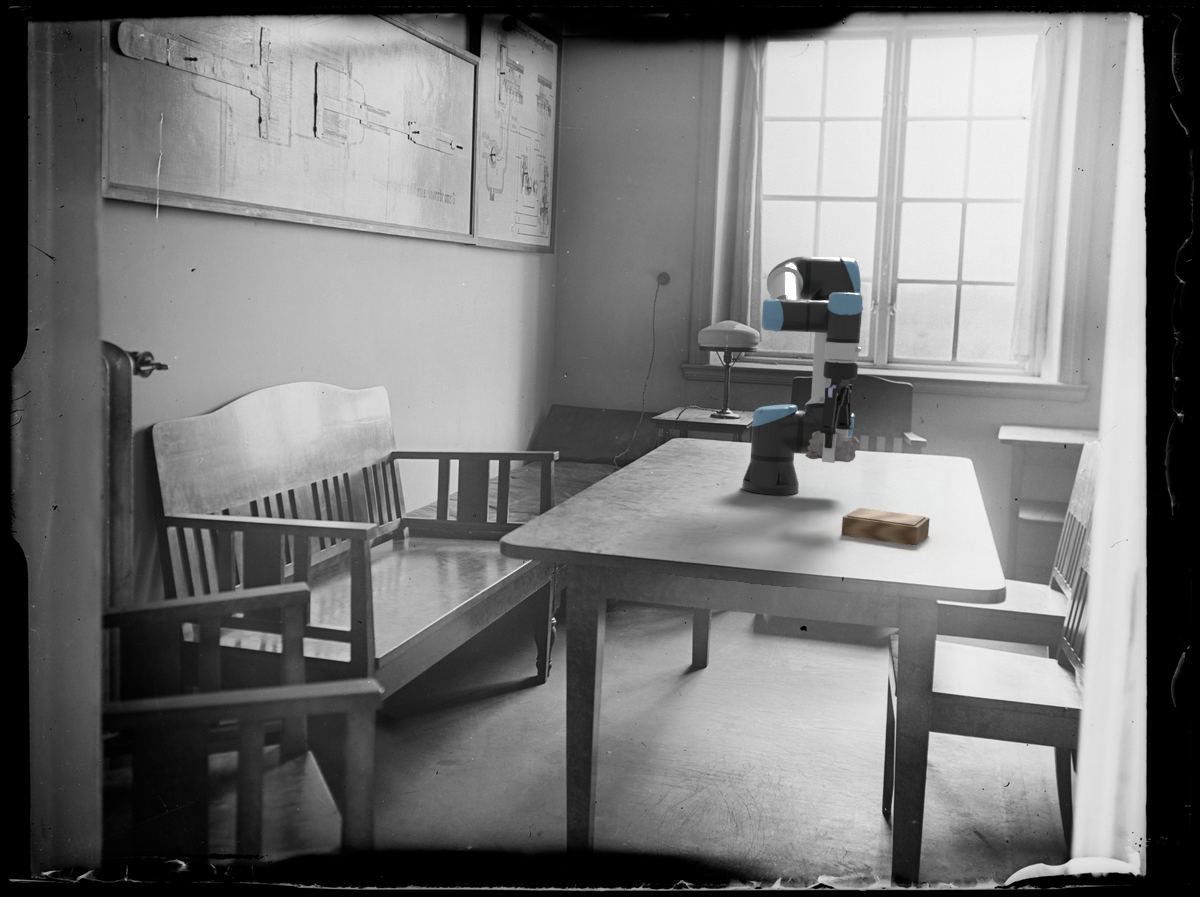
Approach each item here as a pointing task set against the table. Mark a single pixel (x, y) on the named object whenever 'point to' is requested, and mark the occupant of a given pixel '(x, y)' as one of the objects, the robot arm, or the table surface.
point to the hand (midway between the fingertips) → (834, 459)
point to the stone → (843, 447)
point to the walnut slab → (886, 526)
